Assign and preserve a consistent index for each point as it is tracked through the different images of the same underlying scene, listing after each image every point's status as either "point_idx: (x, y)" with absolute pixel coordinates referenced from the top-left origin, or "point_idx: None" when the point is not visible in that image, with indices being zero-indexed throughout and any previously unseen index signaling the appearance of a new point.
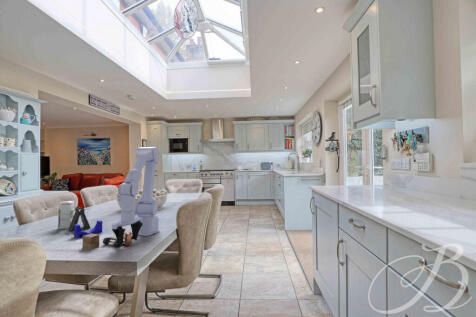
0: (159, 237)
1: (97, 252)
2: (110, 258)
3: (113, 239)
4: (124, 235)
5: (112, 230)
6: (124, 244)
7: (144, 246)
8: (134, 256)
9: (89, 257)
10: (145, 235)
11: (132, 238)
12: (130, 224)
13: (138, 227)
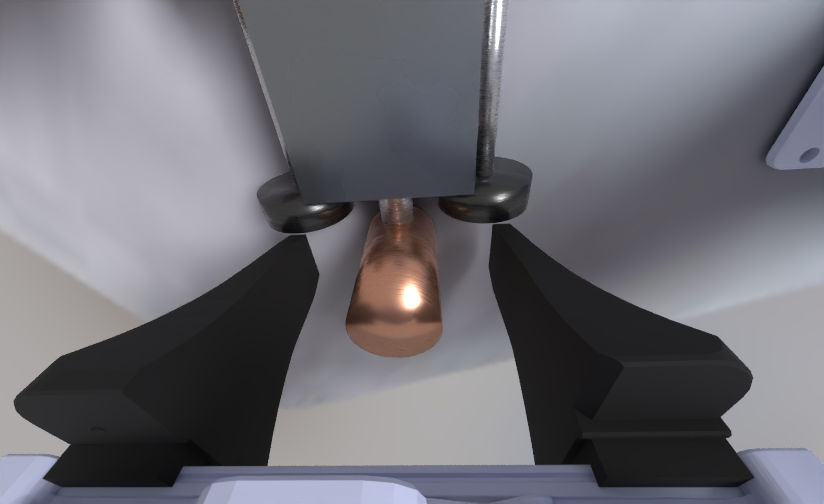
0: (702, 293)
1: (93, 152)
2: None
3: (278, 97)
4: (352, 294)
5: (75, 357)
6: (369, 227)
7: (445, 340)
8: (300, 389)
9: (23, 209)
10: (778, 148)
11: (494, 228)
12: (592, 348)
13: (529, 426)
